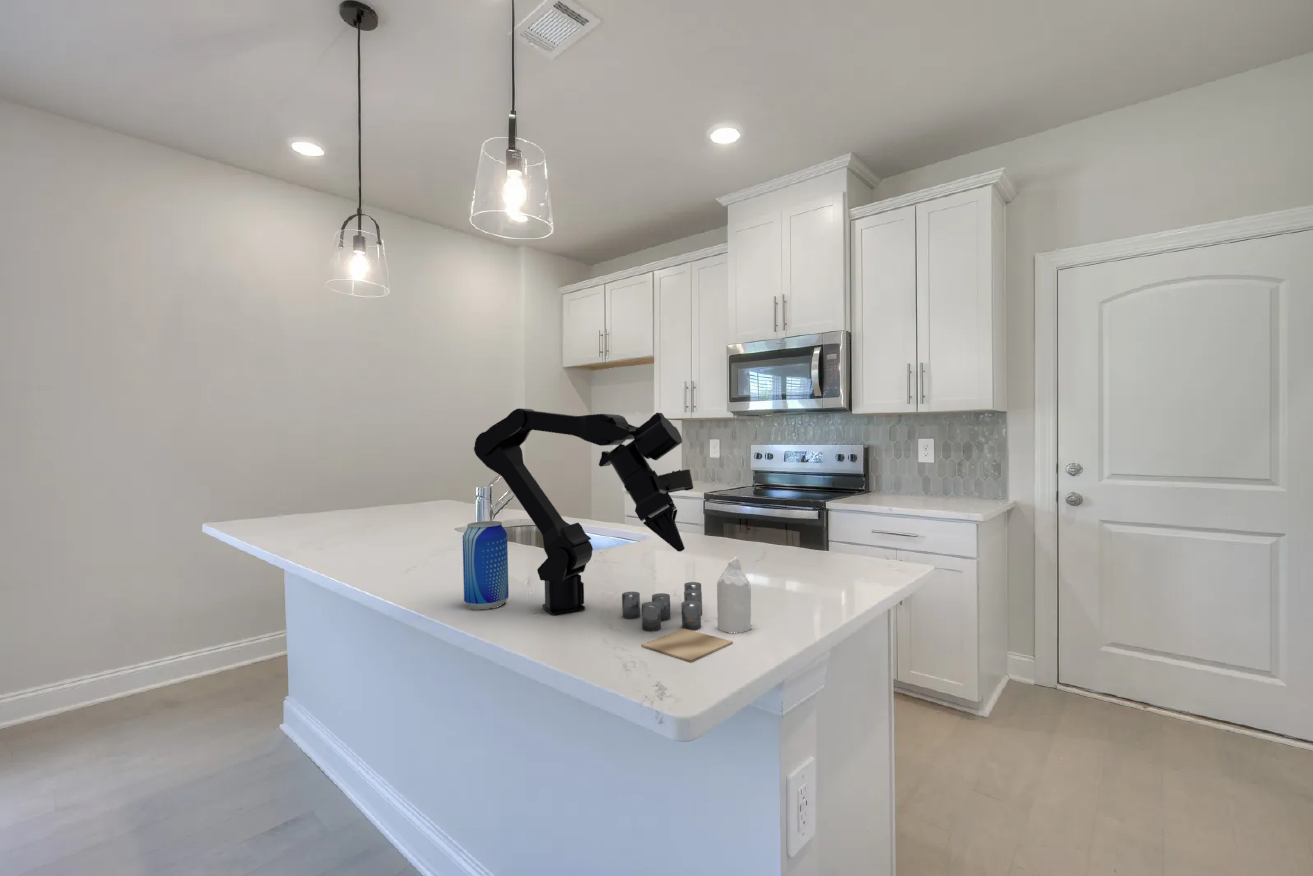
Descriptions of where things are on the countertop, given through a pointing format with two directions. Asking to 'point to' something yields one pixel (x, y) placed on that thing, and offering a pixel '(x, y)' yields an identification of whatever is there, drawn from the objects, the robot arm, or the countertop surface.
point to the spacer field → (665, 608)
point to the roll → (733, 599)
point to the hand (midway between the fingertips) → (681, 550)
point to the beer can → (485, 565)
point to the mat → (687, 644)
